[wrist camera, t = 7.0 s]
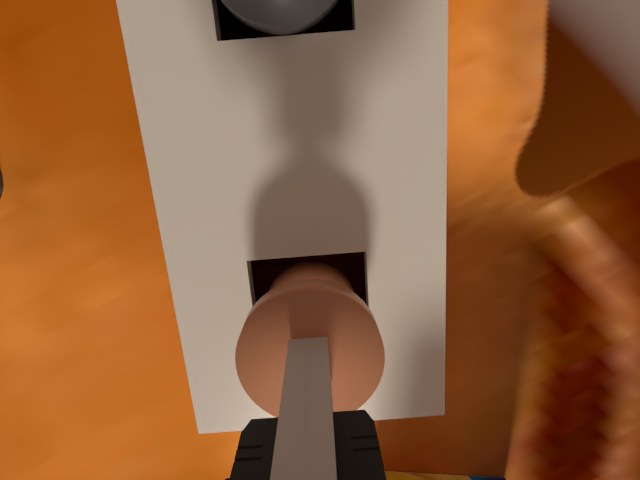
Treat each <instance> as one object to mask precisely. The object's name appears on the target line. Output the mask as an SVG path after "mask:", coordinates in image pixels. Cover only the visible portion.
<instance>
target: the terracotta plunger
mask: <svg viewBox="0 0 640 480" xmlns="http://www.w3.org/2000/svg"><path fill="white" fill-rule="evenodd" d="M327 336H328V349H329V361H330V374H331V386H332V399H333V412H339V411H352V410H357V409H359V408H360V407H361V406H362V405H363V404H364V403H366V401H367V400H368V399H369V398H370V397H371V396H372V394H373V393H374V391H375V390H376V389H377V387H378V385H379V383H380V380H381V377H382V374H383V370H384V365H385V352H384V345H383V341H382V338H381V335H380V332H379V329H378V326H377V323H376V321H375V318H374V316H373V314H372V312H371V311H370V309H369V307H368V306H367V305H366V304H365V302H364V301H363V300H362V299H361V298H360V297H359V296H358V295H357V294H355V293H354V291H353V288H352V286H351V284H350V282H349V280H348V279H347V278H346V277H345V275H344V274H343V273H341V272H340V271H339V270H338V269H336V268H334V267H333V266H331V265H328V264H325V263H321V262H315V261H307V262H301V263H297V264H294V265H292V266H290V267H288V268H286V269H285V270H284V271H282V272H281V273H280V274H279V275H278V276H277V277H276V279H275V280H274V281H273V283H272V285H271V287H270V289H269V292H267V293H266V294H265V295H263V296H262V297H261V298H260V299H259V300H258V301H257V302H256V303H255V305H254V306H253V307H252V309H251V310H250V312H249V314H248V316H247V318H246V320H245V323H244V326H243V328H242V331H241V333H240V336H239V339H238V341H237V346H236V352H235V364H236V370H237V375H238V378H239V380H240V383H241V385H242V387H243V388H244V390H245V392H246V393H247V395H248V396H249V397H250V398H251V399H252V401H253V402H254V403H255V404H256V405H258V406H259V407H260V408H261V409H263V410H264V411H266V412H267V413H269V414H271V415H272V416H275V417H278V416H279V408H280V401H281V393H282V386H283V378H284V371H285V364H286V356H287V349H288V341H289V339H301V338H314V337H327Z"/></svg>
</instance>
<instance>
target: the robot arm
mask: <svg viewBox="0 0 640 480" xmlns="http://www.w3.org/2000/svg"><path fill="white" fill-rule="evenodd" d="M225 480H386V475H385V471H384V466H383V461H382V456H381V452H380V447H379V442H378V438H377V433H376V428H375V423H374V420H373V419H372V418H371V417H370V416H369V414H368V413H367V412H366V411H365V410H352V411H339V412H333V399H332V386H331V374H330V361H329V349H328V336H327V337H314V338H301V339H289V341H288V349H287V356H286V364H285V371H284V378H283V386H282V393H281V401H280V408H279V416H278V417H275V418H261V419H251V420H250V422H249V423H248V424H247V426H246V427H245V428H244V430H243V431H242V432H241V436H240V440H239V444H238V450H237V452H236V456H235V462H234V464H233V468H232V472H231V475H230V478H227V479H225Z"/></svg>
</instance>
